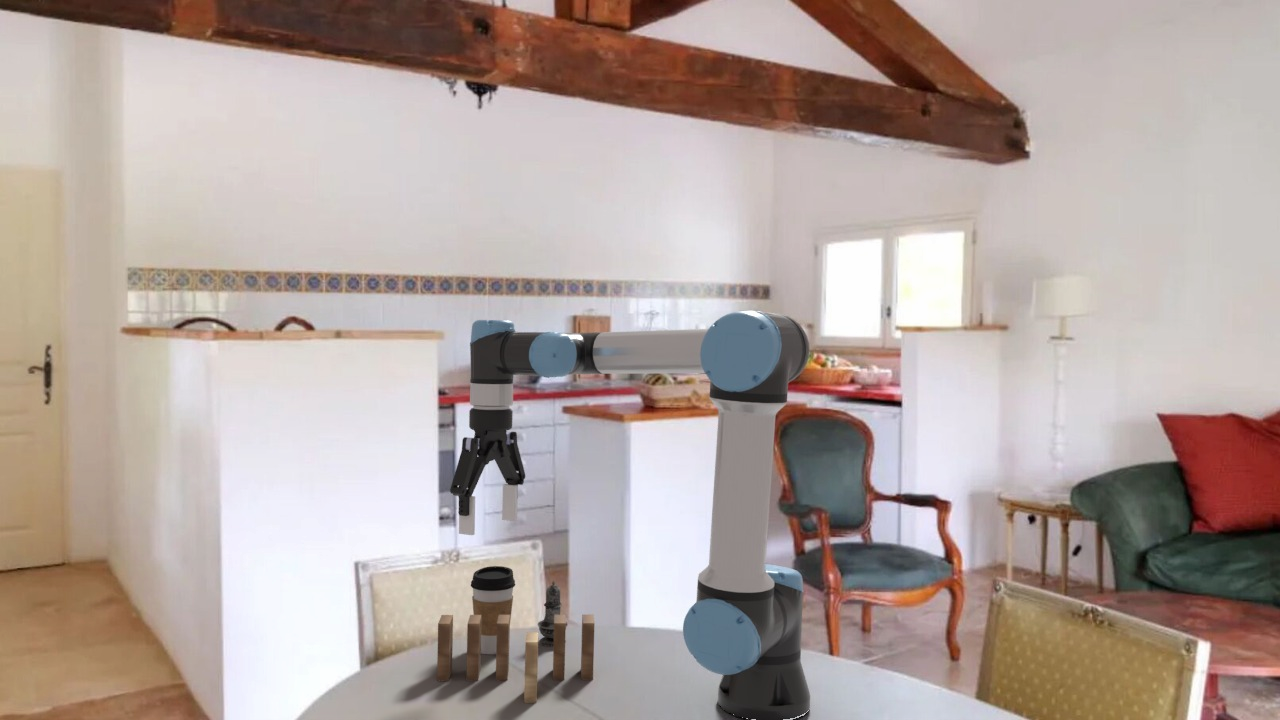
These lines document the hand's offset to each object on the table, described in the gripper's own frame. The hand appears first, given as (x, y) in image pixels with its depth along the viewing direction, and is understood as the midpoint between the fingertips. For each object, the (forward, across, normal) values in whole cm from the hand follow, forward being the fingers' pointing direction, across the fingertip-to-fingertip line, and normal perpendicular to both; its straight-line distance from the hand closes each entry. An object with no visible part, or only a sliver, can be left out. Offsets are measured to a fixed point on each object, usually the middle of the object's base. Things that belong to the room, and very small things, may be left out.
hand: (488, 527), depth 166 cm
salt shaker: (+26, -20, +2) cm, 33 cm away
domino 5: (+26, -8, +16) cm, 32 cm away
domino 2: (+26, +2, -1) cm, 26 cm away
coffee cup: (+26, -11, -6) cm, 29 cm away
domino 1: (+26, +5, -6) cm, 27 cm away
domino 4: (+26, -5, +12) cm, 29 cm away
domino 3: (+26, 0, +3) cm, 26 cm away
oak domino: (+26, +6, +13) cm, 30 cm away
